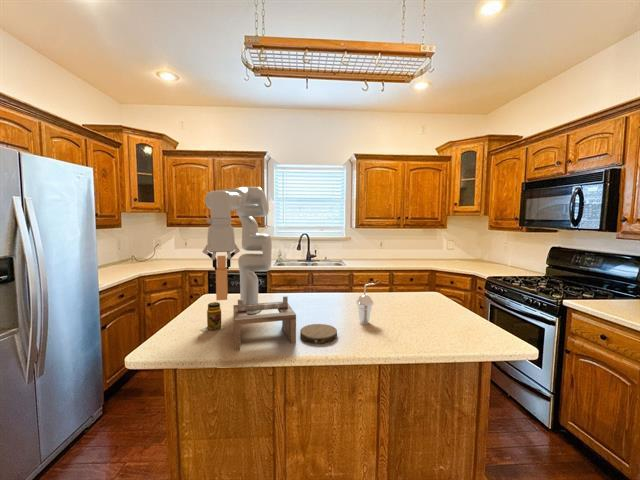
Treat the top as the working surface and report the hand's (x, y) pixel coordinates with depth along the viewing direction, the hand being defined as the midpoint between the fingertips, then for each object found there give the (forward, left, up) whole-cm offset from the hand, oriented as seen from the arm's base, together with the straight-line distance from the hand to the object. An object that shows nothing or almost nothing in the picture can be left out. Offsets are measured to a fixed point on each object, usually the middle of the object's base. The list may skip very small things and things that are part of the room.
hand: (221, 268), depth 117 cm
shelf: (-3, +16, -31) cm, 35 cm away
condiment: (-19, -5, -31) cm, 37 cm away
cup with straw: (-7, +66, -31) cm, 74 cm away
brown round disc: (+3, +39, -31) cm, 51 cm away
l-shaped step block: (0, 0, -11) cm, 11 cm away
